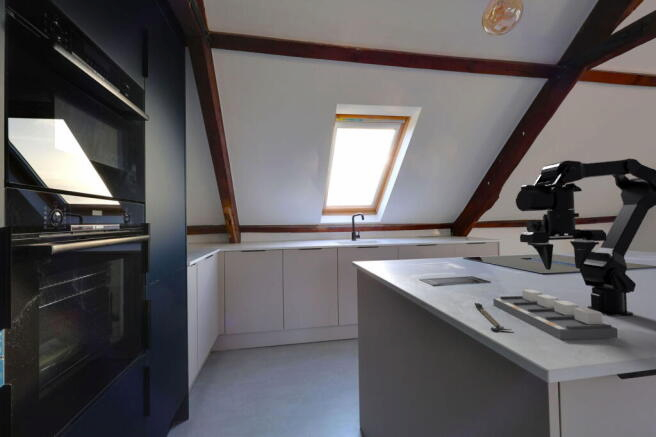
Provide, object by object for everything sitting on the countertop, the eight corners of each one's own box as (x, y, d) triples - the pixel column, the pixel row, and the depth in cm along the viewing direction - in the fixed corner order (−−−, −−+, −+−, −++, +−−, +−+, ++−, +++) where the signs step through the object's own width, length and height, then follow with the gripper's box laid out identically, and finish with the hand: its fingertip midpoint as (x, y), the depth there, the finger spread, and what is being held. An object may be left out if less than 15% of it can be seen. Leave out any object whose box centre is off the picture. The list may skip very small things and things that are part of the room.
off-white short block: (587, 318, 67) (587, 307, 67) (602, 324, 63) (602, 312, 63) (574, 318, 67) (574, 308, 67) (588, 324, 63) (588, 313, 63)
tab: (548, 303, 79) (548, 294, 79) (558, 307, 75) (558, 298, 75) (537, 303, 79) (536, 294, 79) (547, 307, 75) (546, 298, 75)
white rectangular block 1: (532, 297, 85) (532, 289, 85) (541, 301, 81) (541, 292, 81) (522, 298, 85) (522, 289, 85) (531, 301, 81) (530, 292, 81)
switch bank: (534, 304, 86) (534, 295, 86) (617, 338, 61) (617, 325, 61) (493, 305, 86) (493, 296, 86) (560, 339, 61) (559, 327, 61)
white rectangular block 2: (566, 310, 73) (566, 300, 73) (578, 315, 69) (578, 304, 69) (554, 310, 73) (554, 301, 73) (566, 315, 69) (565, 305, 69)
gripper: (570, 209, 85) (573, 263, 85) (506, 212, 85) (508, 265, 85) (607, 207, 74) (610, 269, 74) (533, 210, 74) (535, 272, 74)
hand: (563, 269), depth 77 cm, fingers open, 8 cm apart
